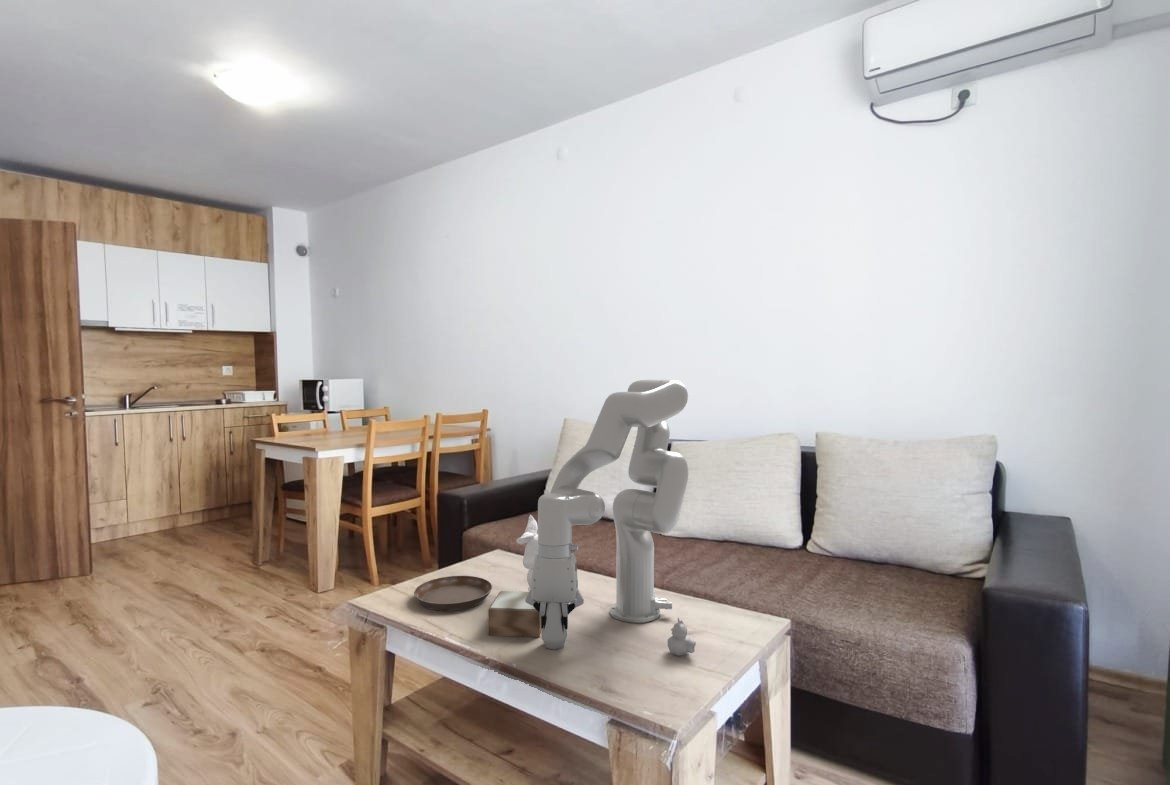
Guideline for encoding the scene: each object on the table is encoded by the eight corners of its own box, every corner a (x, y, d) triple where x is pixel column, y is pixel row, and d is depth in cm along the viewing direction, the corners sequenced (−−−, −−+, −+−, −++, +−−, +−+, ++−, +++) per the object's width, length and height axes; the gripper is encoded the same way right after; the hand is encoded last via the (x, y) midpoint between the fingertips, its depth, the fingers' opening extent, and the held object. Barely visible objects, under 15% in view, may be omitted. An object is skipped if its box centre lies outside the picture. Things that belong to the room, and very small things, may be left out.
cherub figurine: (566, 600, 160) (567, 519, 160) (528, 611, 153) (529, 526, 152) (540, 587, 170) (541, 511, 169) (503, 597, 162) (503, 517, 161)
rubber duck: (674, 646, 132) (674, 610, 132) (701, 654, 128) (701, 618, 128) (661, 654, 128) (662, 618, 128) (689, 663, 124) (689, 625, 124)
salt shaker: (536, 645, 132) (535, 587, 132) (555, 637, 136) (555, 581, 136) (553, 653, 128) (553, 594, 128) (572, 645, 132) (572, 587, 132)
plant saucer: (460, 620, 147) (460, 607, 147) (397, 606, 156) (397, 594, 156) (506, 593, 166) (506, 582, 165) (447, 582, 174) (447, 571, 174)
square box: (546, 616, 149) (547, 591, 148) (539, 637, 137) (539, 610, 137) (499, 615, 150) (499, 590, 149) (488, 635, 138) (488, 608, 137)
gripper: (592, 546, 135) (592, 626, 135) (521, 544, 136) (521, 623, 137) (590, 555, 128) (589, 640, 128) (515, 553, 129) (514, 637, 129)
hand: (554, 631), depth 132 cm, fingers closed on salt shaker, 3 cm apart
